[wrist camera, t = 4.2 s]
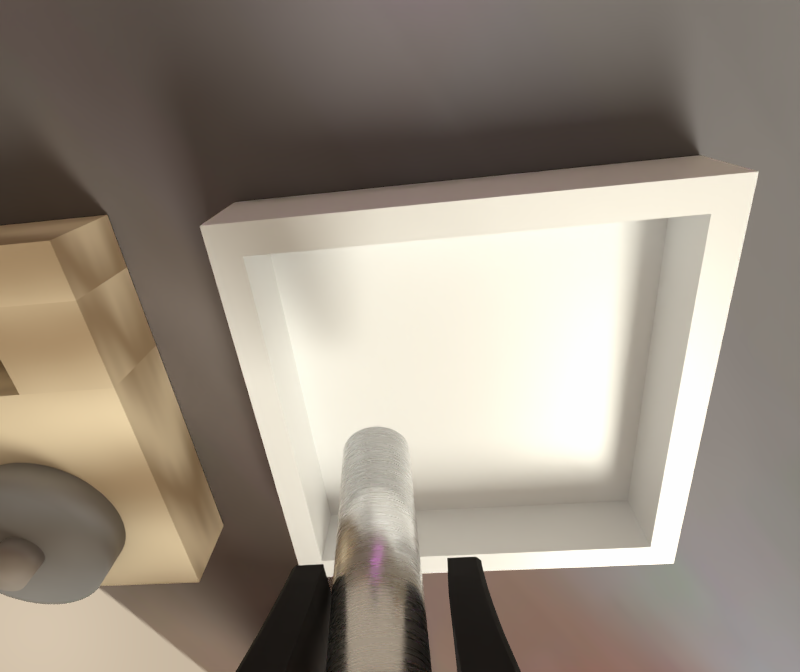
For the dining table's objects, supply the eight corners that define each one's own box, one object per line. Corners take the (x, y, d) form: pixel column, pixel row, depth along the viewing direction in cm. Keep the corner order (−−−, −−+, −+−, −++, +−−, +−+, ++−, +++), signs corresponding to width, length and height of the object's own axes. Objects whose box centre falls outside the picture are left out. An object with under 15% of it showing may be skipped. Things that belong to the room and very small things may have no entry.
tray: (643, 505, 22) (673, 563, 20) (315, 521, 24) (302, 578, 21) (700, 154, 16) (758, 171, 13) (234, 202, 17) (199, 226, 14)
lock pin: (427, 481, 16) (473, 815, 9) (339, 493, 16) (311, 834, 9) (417, 409, 14) (461, 730, 7) (321, 422, 14) (270, 754, 7)
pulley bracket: (223, 525, 24) (173, 641, 19) (28, 535, 25) (-68, 648, 20) (107, 215, 17) (-18, 270, 12) (-158, 241, 18) (-375, 303, 13)
